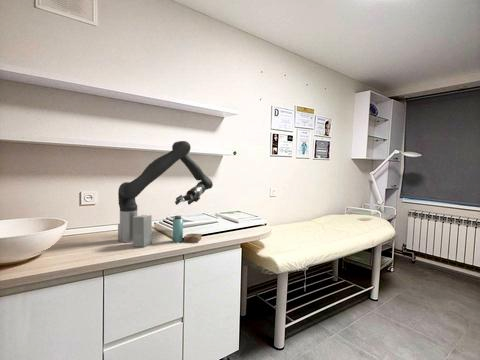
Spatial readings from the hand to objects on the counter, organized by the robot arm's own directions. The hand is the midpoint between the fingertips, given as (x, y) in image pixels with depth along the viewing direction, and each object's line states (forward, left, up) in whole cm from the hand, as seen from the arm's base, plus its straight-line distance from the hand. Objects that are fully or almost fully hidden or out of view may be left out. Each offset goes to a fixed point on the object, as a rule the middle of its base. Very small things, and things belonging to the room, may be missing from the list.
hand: (182, 203), depth 149 cm
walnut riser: (+8, -3, -21) cm, 23 cm away
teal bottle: (0, -6, -21) cm, 22 cm away
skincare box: (-16, -16, -21) cm, 31 cm away
